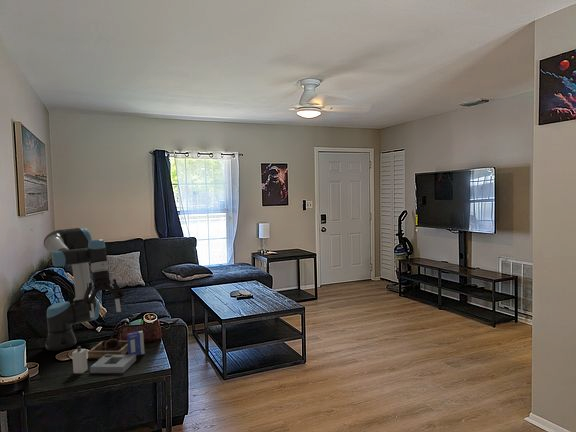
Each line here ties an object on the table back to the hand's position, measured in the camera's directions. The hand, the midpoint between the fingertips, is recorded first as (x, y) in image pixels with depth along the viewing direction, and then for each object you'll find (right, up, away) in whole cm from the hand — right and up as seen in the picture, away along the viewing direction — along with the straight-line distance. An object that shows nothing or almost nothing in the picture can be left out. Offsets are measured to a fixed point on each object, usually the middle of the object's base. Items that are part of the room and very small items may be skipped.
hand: (106, 314), depth 205 cm
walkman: (+9, -24, +15) cm, 30 cm away
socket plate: (+3, -25, +1) cm, 26 cm away
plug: (-11, -26, -3) cm, 29 cm away
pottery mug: (-5, -25, +19) cm, 32 cm away
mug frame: (-5, -24, +19) cm, 31 cm away
